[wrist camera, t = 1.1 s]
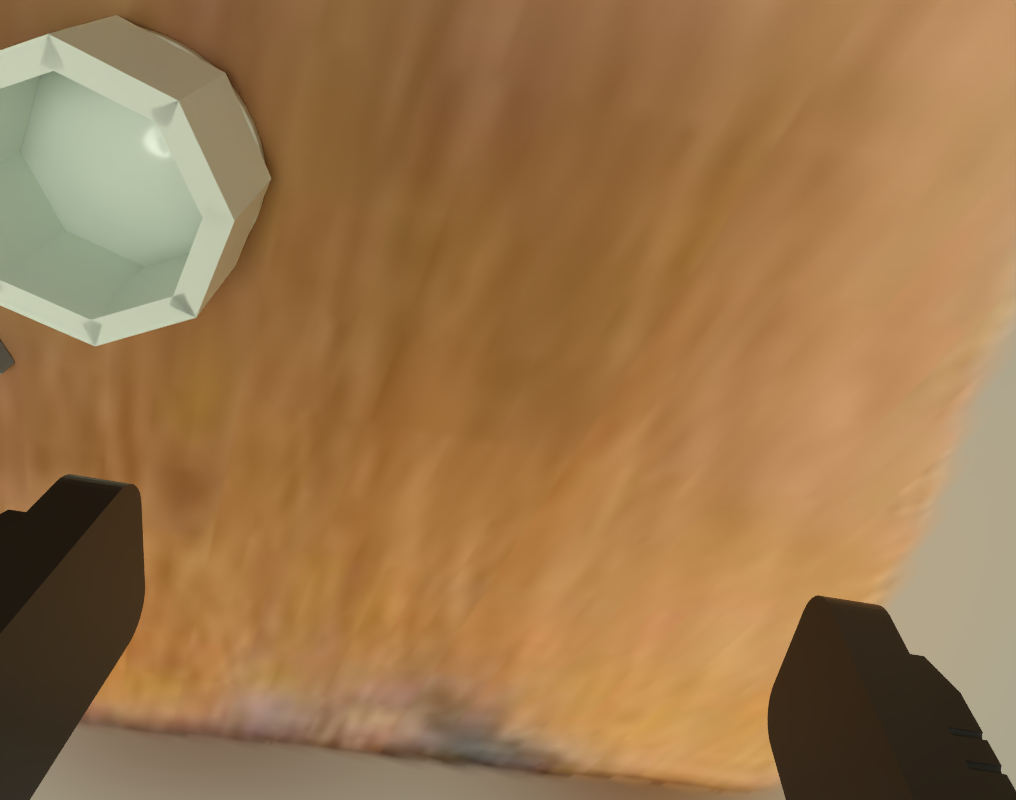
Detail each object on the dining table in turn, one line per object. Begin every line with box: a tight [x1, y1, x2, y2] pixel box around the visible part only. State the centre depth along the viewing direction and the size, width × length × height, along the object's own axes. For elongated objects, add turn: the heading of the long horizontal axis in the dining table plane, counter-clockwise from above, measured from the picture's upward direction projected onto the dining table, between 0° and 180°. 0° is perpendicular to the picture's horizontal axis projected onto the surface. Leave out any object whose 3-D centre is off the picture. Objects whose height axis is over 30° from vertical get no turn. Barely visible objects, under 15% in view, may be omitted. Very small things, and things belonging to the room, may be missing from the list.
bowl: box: [0, 15, 272, 346], centre depth 29 cm, size 9×9×6 cm
